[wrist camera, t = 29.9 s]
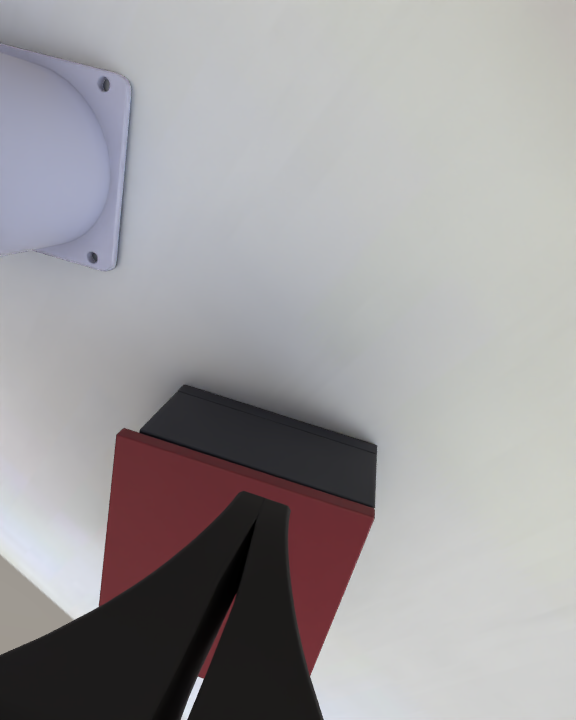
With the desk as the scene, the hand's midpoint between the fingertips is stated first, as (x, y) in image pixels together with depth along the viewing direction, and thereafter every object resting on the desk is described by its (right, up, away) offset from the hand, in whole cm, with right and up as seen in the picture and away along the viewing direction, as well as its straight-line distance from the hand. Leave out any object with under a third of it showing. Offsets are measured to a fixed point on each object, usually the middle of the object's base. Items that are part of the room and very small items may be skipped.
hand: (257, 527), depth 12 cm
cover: (-2, -5, +9) cm, 11 cm away
